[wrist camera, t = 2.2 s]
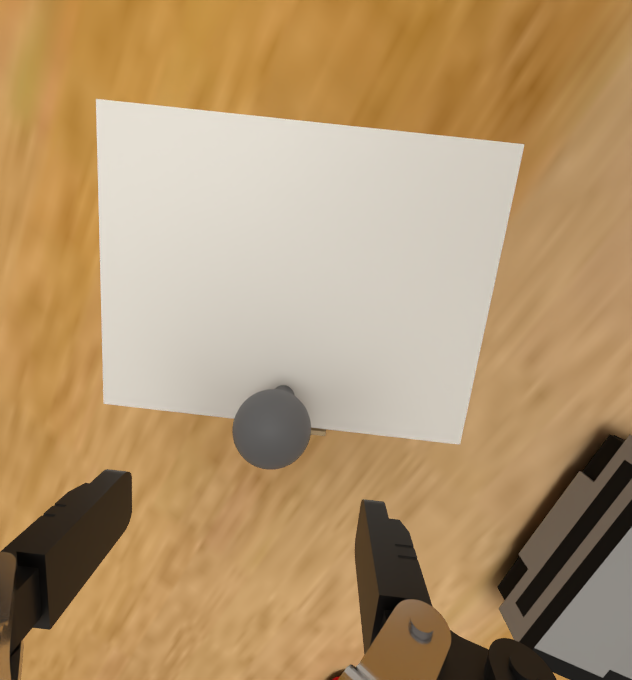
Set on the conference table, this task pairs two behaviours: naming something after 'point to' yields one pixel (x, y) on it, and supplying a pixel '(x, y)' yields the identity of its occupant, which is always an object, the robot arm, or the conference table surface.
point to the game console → (580, 574)
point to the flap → (296, 272)
